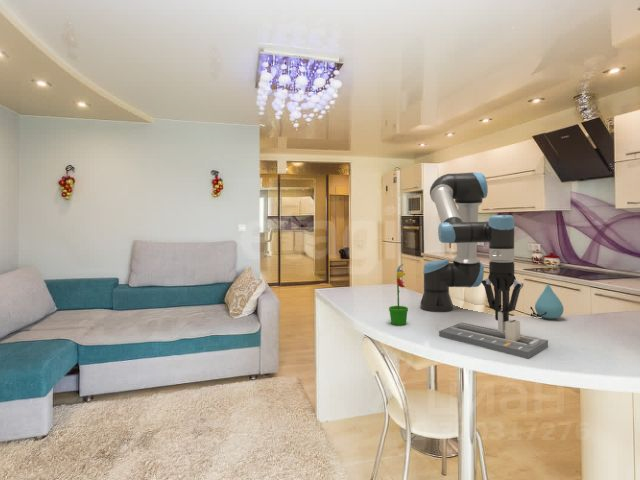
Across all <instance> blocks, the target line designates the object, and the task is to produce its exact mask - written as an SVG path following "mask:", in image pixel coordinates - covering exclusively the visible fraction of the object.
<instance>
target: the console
mask: <svg viewBox="0 0 640 480" xmlns="http://www.w3.org/2000/svg"><path fill="white" fill-rule="evenodd" d="M438 334H439V335H438V336H439V337H441V338H445V339H448V340H449V339H450V340H453V341H457V342H461V343H465V344H468V345H473V346H477V347H480V348H484V349H489V350H493V351H497V352H500V353H504V354H508V355H511V354H512V355H513V356H516V357H520V358H523V359H527V360H529V359H530V358H532V357H534V356H535V355H536V354H539V353H540V352H541V351H543V350H545V349H546V348H548V347H549V340H548V339H543V338H540V337H535V336H534V337H533V336H528V335H523V334H520V339H519V340H518V341H511V340H507V339H505V331H503V332H501V331H498V329H495V328H490V327H486V326H480V325H475V324H471V323H467V322H459V323H457V324H454V325H452V326H448V327H445V328H443V329H440V330H438Z"/></svg>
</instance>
